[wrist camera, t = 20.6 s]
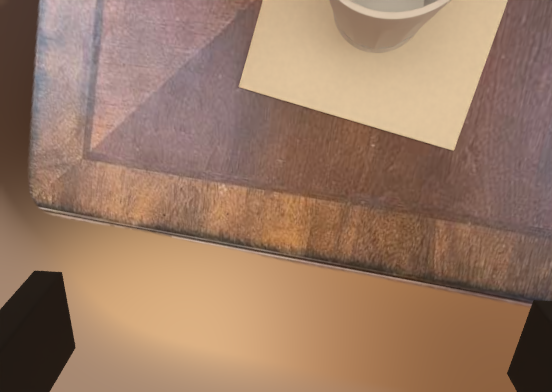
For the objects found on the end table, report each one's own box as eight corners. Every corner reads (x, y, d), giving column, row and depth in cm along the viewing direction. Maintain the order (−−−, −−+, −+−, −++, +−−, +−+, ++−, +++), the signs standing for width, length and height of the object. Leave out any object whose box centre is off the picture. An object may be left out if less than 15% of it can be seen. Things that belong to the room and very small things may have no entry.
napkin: (239, 87, 34) (238, 87, 34) (303, -141, 31) (302, -144, 31) (452, 150, 32) (453, 150, 32) (537, -86, 30) (539, -89, 29)
